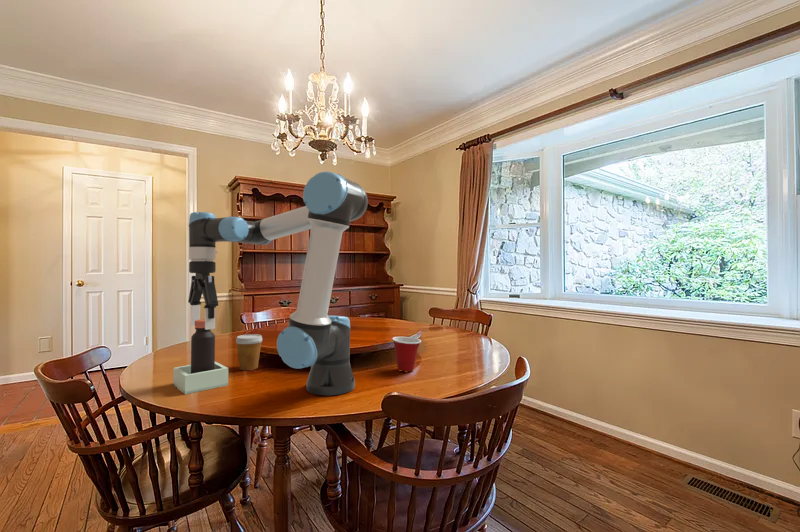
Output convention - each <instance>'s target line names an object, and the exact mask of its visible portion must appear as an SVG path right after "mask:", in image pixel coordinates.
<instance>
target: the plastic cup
mask: <svg viewBox="0 0 800 532" xmlns="http://www.w3.org/2000/svg"><path fill="white" fill-rule="evenodd" d="M392 341H393V344H394V345H393V346H394V347H393V348H394V351H395V352H394V353H395V360H396V362H397V363H396V366H397V370H398V369H399V370H402V371H411V370H413V369H415V363H416V360H417V356H418V349H419V346H420V344H421V342H422V340H421V339H419V338H415V337H410V336H393V337H392ZM413 371H414V370H413Z"/></svg>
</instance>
